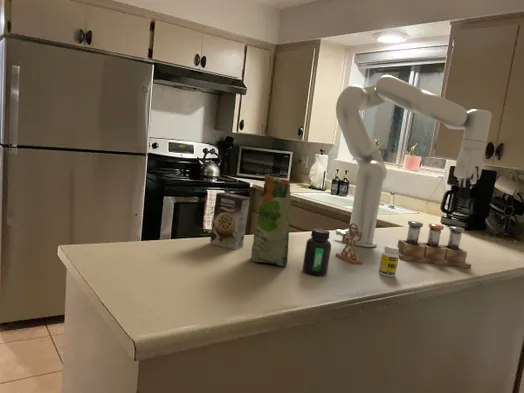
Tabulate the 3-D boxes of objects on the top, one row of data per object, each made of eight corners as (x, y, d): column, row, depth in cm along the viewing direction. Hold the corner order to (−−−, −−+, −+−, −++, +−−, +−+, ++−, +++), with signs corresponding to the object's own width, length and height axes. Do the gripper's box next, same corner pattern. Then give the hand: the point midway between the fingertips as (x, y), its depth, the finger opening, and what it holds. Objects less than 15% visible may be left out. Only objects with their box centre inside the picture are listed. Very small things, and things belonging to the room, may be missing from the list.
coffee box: (208, 244, 136) (215, 192, 134) (218, 240, 142) (224, 191, 140) (235, 250, 133) (242, 198, 131) (244, 246, 139) (250, 196, 137)
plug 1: (407, 245, 152) (411, 223, 151) (402, 242, 157) (406, 220, 156) (421, 247, 153) (425, 224, 152) (415, 243, 158) (419, 222, 157)
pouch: (280, 271, 119) (293, 179, 115) (240, 261, 122) (251, 172, 119) (292, 262, 129) (304, 178, 126) (254, 253, 133) (265, 171, 129)
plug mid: (428, 248, 153) (432, 225, 152) (422, 244, 158) (426, 222, 157) (442, 249, 153) (446, 227, 152) (435, 246, 158) (440, 224, 157)
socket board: (400, 259, 150) (403, 244, 150) (390, 251, 160) (393, 237, 160) (470, 268, 152) (473, 253, 151) (456, 259, 162) (459, 246, 161)
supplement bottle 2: (386, 277, 127) (391, 249, 126) (375, 271, 131) (380, 244, 130) (398, 276, 129) (403, 249, 128) (387, 271, 133) (392, 244, 132)
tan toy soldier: (334, 256, 143) (340, 220, 141) (343, 255, 145) (349, 220, 143) (352, 264, 136) (359, 226, 134) (362, 264, 138) (368, 227, 136)
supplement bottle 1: (320, 278, 117) (327, 234, 115) (297, 271, 121) (304, 229, 119) (330, 273, 123) (337, 232, 121) (308, 267, 126) (315, 226, 125)
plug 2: (448, 250, 153) (453, 228, 152) (442, 247, 158) (446, 225, 157) (462, 252, 154) (467, 230, 153) (455, 248, 159) (460, 227, 158)
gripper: (452, 144, 158) (442, 194, 161) (474, 145, 143) (463, 200, 146) (472, 147, 159) (462, 197, 161) (496, 148, 144) (484, 203, 146)
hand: (462, 198), depth 154 cm, fingers closed
